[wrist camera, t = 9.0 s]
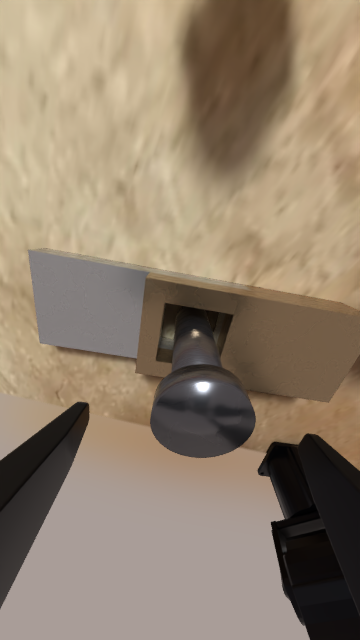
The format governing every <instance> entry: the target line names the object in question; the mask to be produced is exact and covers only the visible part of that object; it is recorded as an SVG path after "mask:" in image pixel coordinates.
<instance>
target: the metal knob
mask: <svg viewBox="0 0 360 640" xmlns="http://www.w3.org/2000/svg"><path fill="white" fill-rule="evenodd" d="M255 422H256V417H255V412H254V409H253V407H252V404H251V402H250V399H249V397H248V395H247V392H246V390H245V387H244V385H243V383H242V382H241V381H240V379H239V378H238V377H237V376H236V375H234V374H233V373H231V372H230V371H228V370H226V369H224V368H223V366H222V363H221V360H220V356H219V353H218V350H217V346H216V343H215V340H214V336H213V333H212V330H211V326H210V323H209V320H208V316H207V314H206V312H205V310H204V309H199V308H193V307H187V306H184V307H182V308H181V309H180V310H179V311H178V313H177V315H176V323H175V335H174V346H173V358H172V370H171V373H170V374H168V375H167V376H166V377H165V378H164V379H163V380H162V381H161V382H160V384H159V385H158V387H157V389H156V392H155V396H154V401H153V407H152V412H151V419H150V424H151V429H152V432H153V434H154V436H155V438H156V439H157V440H158V441H159V442H160V443H161V444H162V445H163V446H164V447H166V448H167V449H169V450H171V451H173V452H175V453H177V454H180V455H184V456H189V457H196V458H207V457H215V456H219V455H223V454H226V453H229V452H231V451H233V450H235V449H236V448H238V447H240V446H241V445H242V444H243V443H245V442H246V441H247V439H248V438H249V437H250V436H251V434H252V432H253V430H254V427H255Z"/></svg>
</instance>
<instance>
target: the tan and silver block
mask: <svg viewBox="0 0 360 640" xmlns="http://www.w3.org/2000/svg"><path fill="white" fill-rule="evenodd" d="M28 253H29V261H30V269H31V277H32V285H33V292H34V300H35V308H36V316H37V324H38V332H39V340H40V343H42V344H48V345H54V346H61V347H67V348H73V349H80V350H86V351H93V352H99V353H105V354H112V355H118V356H124V357H131V358H137V361H136V370H135V373H138V374H145V375H151V376H158V377H164V378H165V377H166V376H167V375H168V374H170V373H171V370H172V358H173V346H174V339H169V338H163V337H161V332H162V326H163V320H164V313H165V307H166V303H170V304H176V305H181V306H187V307H193V308H199V309H204V310H210V311H216V312H219V315H218V319H217V322H216V326H215V329H214V333H213V336H214V340H215V343H216V346H217V350H218V353H219V356H220V360H221V363H222V366H223V368H224V369H226V370H228V371H230V372H231V373H233V374H234V375H236V376H237V377H238V378H239V379H240V381H241V382H242V383H243V385H244V387H245V390H250V391H256V392H263V393H269V394H276V395H282V396H289V397H295V398H302V399H309V400H315V401H322V402H328V403H329V401H330V400H331V398H332V396H333V395H334V393H335V392H336V390H337V389H338V387H339V386H340V384H341V383H342V381H343V380H344V378H345V377H346V375H347V373H348V372H349V370H350V369H351V367H352V366H353V364H354V363H355V361H356V360H357V358H358V357H359V355H360V311H359V310H357V309H354V308H352V307H350V306H347V305H345V304H343V303H340V302H334V301H329V300H324V299H318V298H313V297H307V296H302V295H297V294H291V293H286V292H280V291H275V290H269V289H264V288H259V287H253V286H248V285H242V284H237V283H232V282H226V281H221V280H215V279H210V278H204V277H199V276H194V275H188V274H183V273H177V272H172V271H167V270H161V269H156V268H150V267H145V266H139V265H134V264H129V263H123V262H118V261H112V260H107V259H102V258H96V257H91V256H85V255H80V254H74V253H69V252H64V251H58V250H53V249H47V248H43V249H32V250H28Z"/></svg>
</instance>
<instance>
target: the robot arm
mask: <svg viewBox="0 0 360 640" xmlns="http://www.w3.org/2000/svg"><path fill="white" fill-rule="evenodd" d="M88 421H89V404H88V403H86V402H77V403H75V404H74V405H73V406H71V407H70V408H69V409H67V410H66V411H65V412H63V413H62V414H61V415H59V416H58V417H57V418H56V419H54V420H53V421H52V422H51V423H49V424H48V425H46V426H45V427H44V428H42V429H41V430H40V431H39V432H37V433H36V434H34V435H33V436H32V437H31V438H29V439H28V440H27V441H25V442H24V443H23V444H21V445H20V446H19V447H18V448H16V449H15V450H14V451H12V452H11V453H9V454H8V455H7V456H6V457H4V458H3V459H2V460H0V608H1V606H2V604H3V602H4V600H5V598H6V596H7V594H8V592H9V590H10V588H11V586H12V584H13V582H14V580H15V578H16V576H17V574H18V572H19V570H20V568H21V566H22V564H23V562H24V560H25V558H26V556H27V554H28V552H29V550H30V548H31V546H32V544H33V542H34V540H35V538H36V536H37V534H38V532H39V530H40V528H41V526H42V524H43V522H44V520H45V518H46V516H47V514H48V512H49V510H50V508H51V506H52V504H53V502H54V500H55V498H56V496H57V494H58V492H59V490H60V488H61V486H62V484H63V482H64V480H65V478H66V476H67V474H68V472H69V470H70V468H71V466H72V463H73V461H74V458H75V456H76V453H77V450H78V448H79V445H80V443H81V440H82V437H83V435H84V432H85V430H86V427H87V425H88ZM258 474H259V475H261V476H268V477H270V479H271V482H272V485H273V487H274V490H275V493H276V496H277V499H278V501H279V504H280V507H281V510H282V512H283V515H284V518H285V519H284V520H281V521H277V522H276V521H273V522H271V526H272V535H273V540H274V544H275V549H276V553H277V558H278V562H279V567H280V573H281V580H282V587H283V591H284V594H285V595H286V597H287V598H288V599H289V600H290V601H291V603H292V605H293V608H294V610H295V612H296V615H297V617H298V619H299V620H300V622H301V624H302V625H305V626H306V629H307V632H308V635H309V637H310V640H360V471H359V470H358V469H357V468H355V467H354V466H353V465H352V464H351V463H350V462H348V461H347V460H346V459H345V458H344V457H343V456H341V455H340V454H339V453H338V452H337V451H336V450H335V449H333V448H332V447H331V446H330V445H329V444H328V443H326V442H325V441H324V440H323V439H322V438H321V437H319V436H318V435H315V434H306V435H305V436H304V437H303V439H302V440H301V442H300V443H299V445H293V444H286V443H279V442H275V443H273V444H272V445H271V447H270V449H269V451H268V452H267V454H266V456H265V458H264V459H263V461H262V463H261V465H260V467H259V468H258Z"/></svg>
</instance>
